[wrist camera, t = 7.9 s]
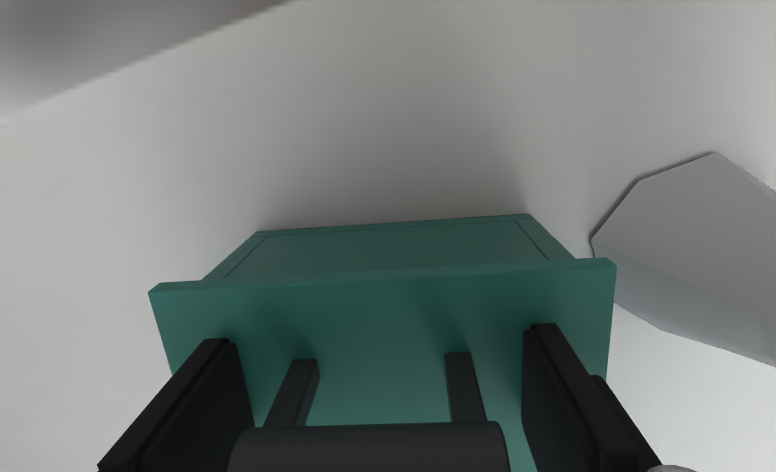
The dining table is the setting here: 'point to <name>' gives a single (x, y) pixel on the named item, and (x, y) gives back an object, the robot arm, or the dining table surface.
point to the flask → (698, 255)
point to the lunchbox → (392, 247)
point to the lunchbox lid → (389, 359)
